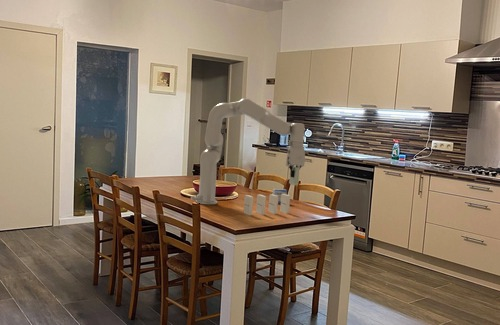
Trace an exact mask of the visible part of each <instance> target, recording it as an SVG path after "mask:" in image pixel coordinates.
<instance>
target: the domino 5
mask: <svg viewBox="0 0 500 325" xmlns="http://www.w3.org/2000/svg"><path fill="white" fill-rule="evenodd" d="M294 170H295V175H294V177H291V176H290V175H289V180H288V182H289V185H292V186H299V178H300V177H299V175H300V170H299V168H298V167H295V166H294ZM290 173H291V170H290V169H289V174H290Z"/></svg>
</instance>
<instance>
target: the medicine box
mask: <svg viewBox="0 0 500 325" xmlns="http://www.w3.org/2000/svg"><path fill="white" fill-rule="evenodd" d="M287 193H288V190H287V189H286V188H285V189H282V188H273V189H272V194H273V195H277V196H278V205H281V194H286V195H288V194H287Z"/></svg>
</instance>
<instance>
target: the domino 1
mask: <svg viewBox="0 0 500 325" xmlns="http://www.w3.org/2000/svg"><path fill="white" fill-rule="evenodd" d="M253 207H254V196H252V195H249V194H244V200H243V214H244V215H246V216H253V209H254V208H253Z"/></svg>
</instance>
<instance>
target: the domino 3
mask: <svg viewBox="0 0 500 325" xmlns="http://www.w3.org/2000/svg"><path fill="white" fill-rule="evenodd" d="M278 206H279V204H278V196H277V195H273V193H272V194H271V193H270V194H269V198H268V207H267V208H268V213H270V214H273V215H277V214H278Z"/></svg>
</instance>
